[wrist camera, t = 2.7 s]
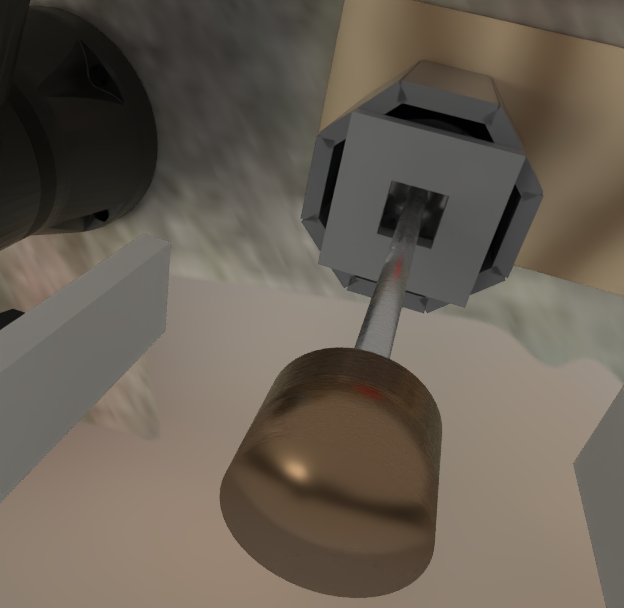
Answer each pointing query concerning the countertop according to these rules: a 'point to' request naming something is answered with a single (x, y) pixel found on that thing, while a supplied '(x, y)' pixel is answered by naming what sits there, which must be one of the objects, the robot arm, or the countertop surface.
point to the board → (515, 117)
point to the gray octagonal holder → (424, 185)
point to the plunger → (347, 445)
